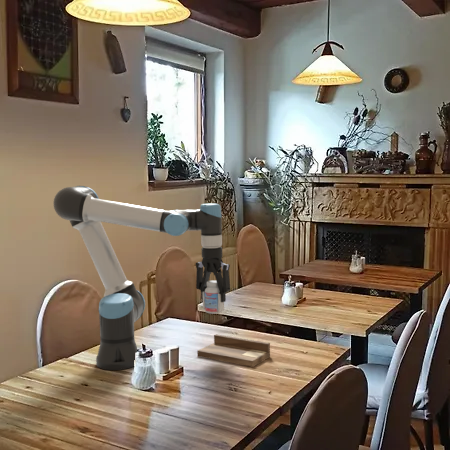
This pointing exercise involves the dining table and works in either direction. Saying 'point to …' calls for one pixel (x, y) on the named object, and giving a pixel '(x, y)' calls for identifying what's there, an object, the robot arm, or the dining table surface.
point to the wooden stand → (236, 350)
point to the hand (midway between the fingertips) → (213, 309)
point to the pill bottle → (211, 297)
